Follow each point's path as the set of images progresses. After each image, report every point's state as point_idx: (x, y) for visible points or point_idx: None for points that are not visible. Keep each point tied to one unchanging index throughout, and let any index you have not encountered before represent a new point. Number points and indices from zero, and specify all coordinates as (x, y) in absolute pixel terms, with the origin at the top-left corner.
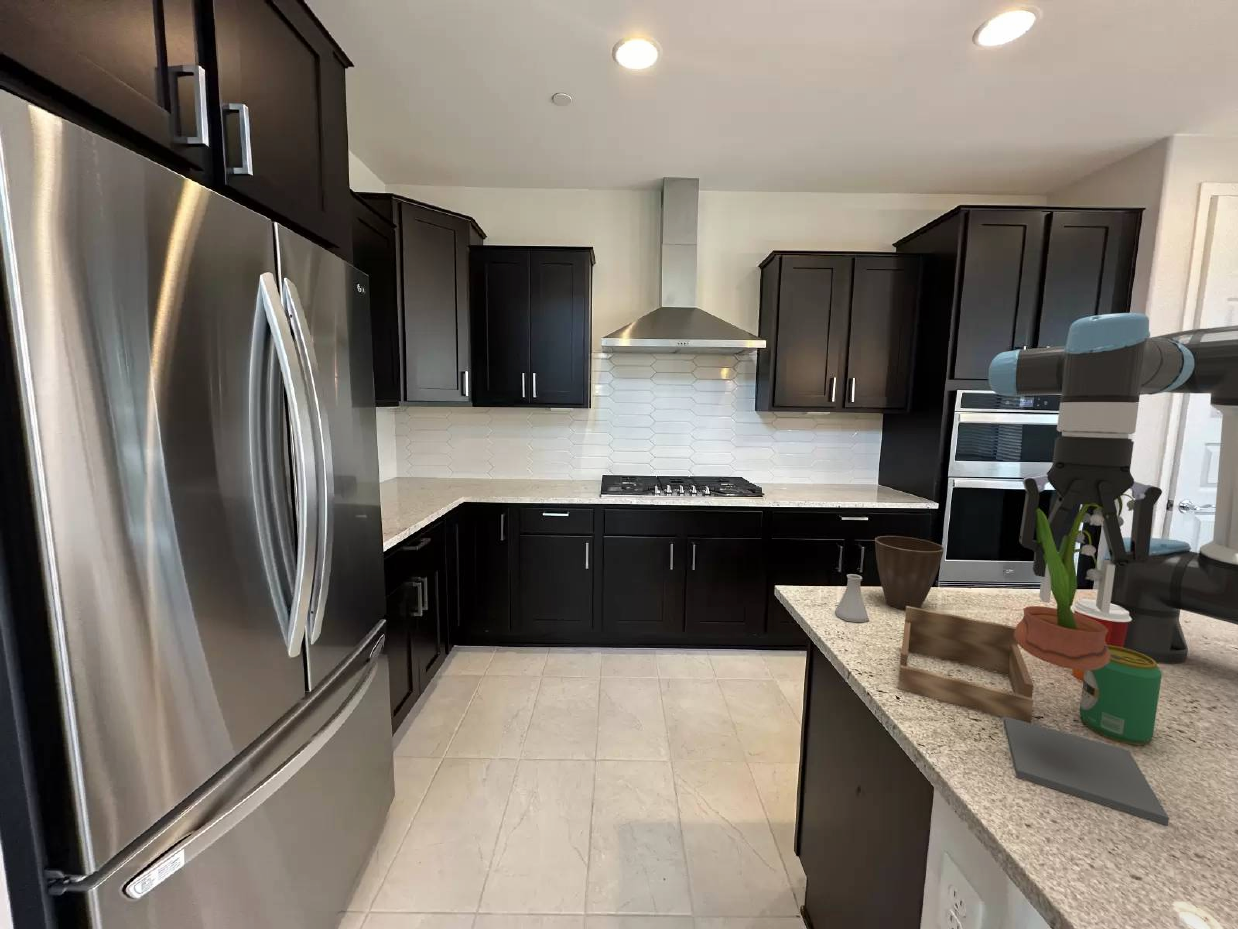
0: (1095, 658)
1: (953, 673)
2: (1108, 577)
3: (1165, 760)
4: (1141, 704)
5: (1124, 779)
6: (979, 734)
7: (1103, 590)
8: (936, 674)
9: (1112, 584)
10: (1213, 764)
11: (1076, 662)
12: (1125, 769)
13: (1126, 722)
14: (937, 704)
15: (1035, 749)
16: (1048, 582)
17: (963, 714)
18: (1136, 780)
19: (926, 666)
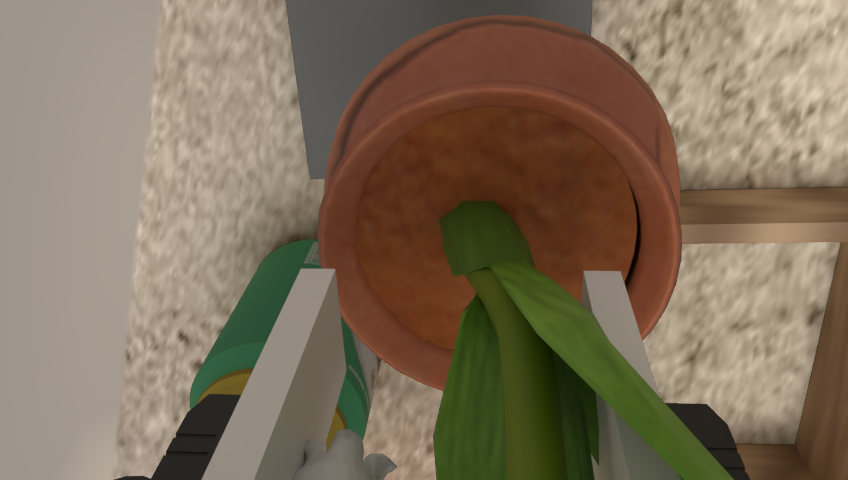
0: (388, 62)
1: (677, 375)
2: (260, 419)
3: (241, 207)
4: (258, 297)
5: (337, 12)
6: (660, 48)
7: (306, 356)
8: (789, 235)
9: (247, 387)
10: (158, 251)
11: (463, 20)
12: (329, 68)
13: (300, 260)
14: (759, 158)
15: None
16: (623, 353)
17: (688, 142)
18: (312, 25)
19: (752, 378)
